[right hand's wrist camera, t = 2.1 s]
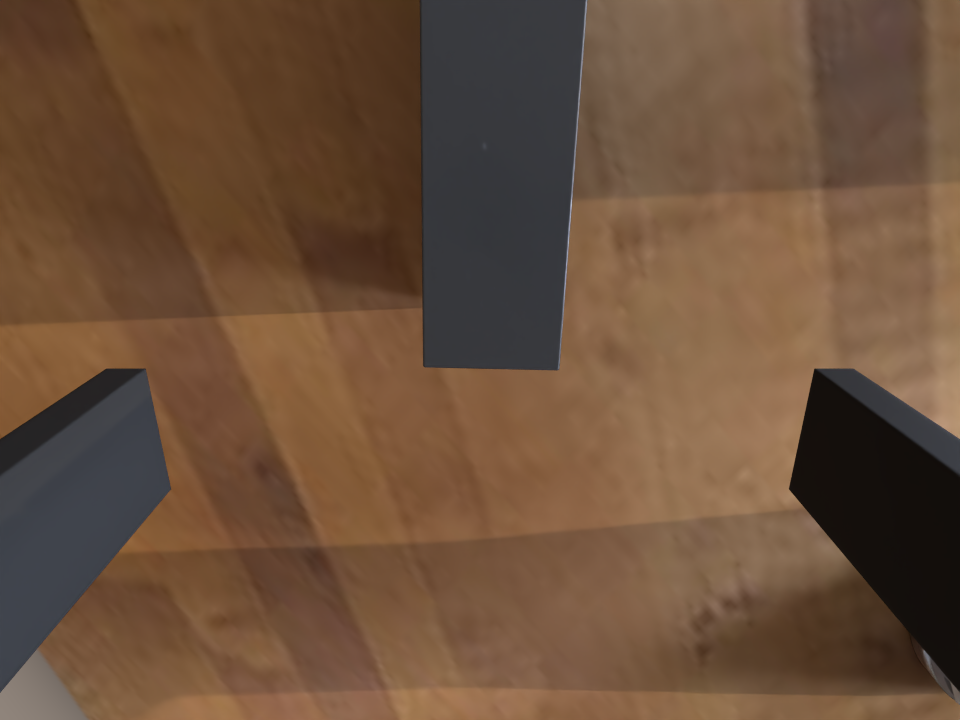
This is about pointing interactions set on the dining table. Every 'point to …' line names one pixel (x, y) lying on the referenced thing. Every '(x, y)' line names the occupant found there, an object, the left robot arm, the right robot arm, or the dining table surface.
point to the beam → (497, 178)
